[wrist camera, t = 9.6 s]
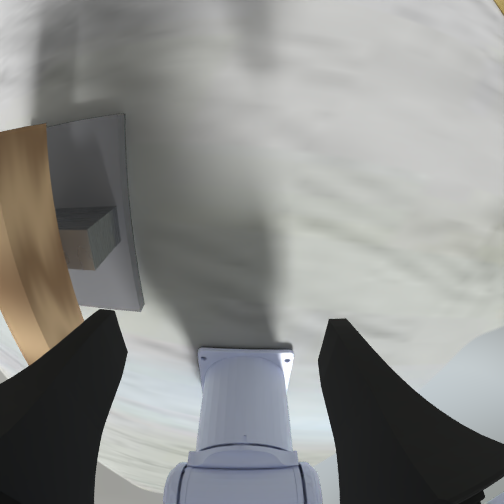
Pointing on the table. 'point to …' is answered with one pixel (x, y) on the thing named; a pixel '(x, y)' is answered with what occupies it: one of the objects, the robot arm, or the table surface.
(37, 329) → the bar
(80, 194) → the stand
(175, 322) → the table surface
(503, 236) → the table surface
